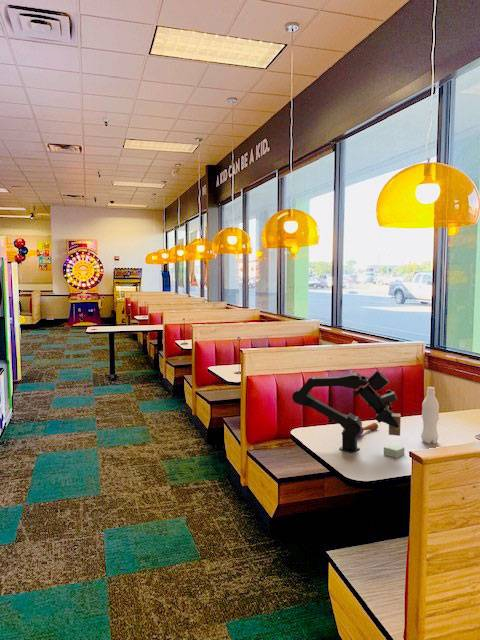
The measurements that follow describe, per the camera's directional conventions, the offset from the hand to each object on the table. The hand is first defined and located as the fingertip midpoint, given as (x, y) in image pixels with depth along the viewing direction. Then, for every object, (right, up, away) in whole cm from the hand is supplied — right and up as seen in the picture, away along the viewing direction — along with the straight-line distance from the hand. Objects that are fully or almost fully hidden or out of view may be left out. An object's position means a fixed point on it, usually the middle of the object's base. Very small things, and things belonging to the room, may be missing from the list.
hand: (398, 425), depth 201 cm
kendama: (-7, -10, +28) cm, 31 cm away
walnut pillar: (-1, -4, +1) cm, 4 cm away
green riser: (-1, -12, +2) cm, 13 cm away
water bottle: (+19, -11, +16) cm, 27 cm away
